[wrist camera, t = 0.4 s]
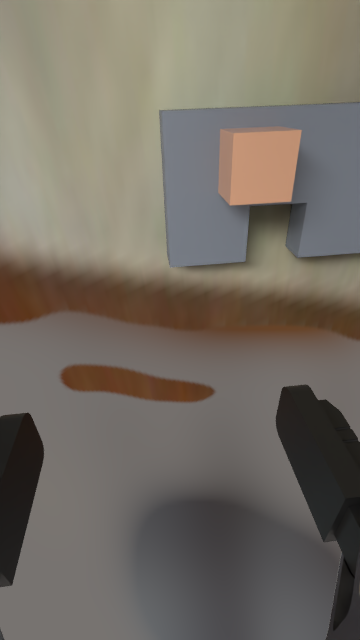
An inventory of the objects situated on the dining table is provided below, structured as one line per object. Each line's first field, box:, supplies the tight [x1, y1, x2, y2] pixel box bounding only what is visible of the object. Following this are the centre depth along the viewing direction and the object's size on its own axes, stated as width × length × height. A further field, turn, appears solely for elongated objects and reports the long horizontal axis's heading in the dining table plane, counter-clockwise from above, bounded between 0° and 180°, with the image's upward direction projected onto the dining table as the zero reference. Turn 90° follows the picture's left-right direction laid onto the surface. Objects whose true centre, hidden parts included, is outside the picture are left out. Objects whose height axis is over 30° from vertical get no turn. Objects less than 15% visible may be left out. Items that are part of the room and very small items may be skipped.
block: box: [218, 126, 302, 205], centre depth 24 cm, size 4×4×4 cm
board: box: [159, 102, 360, 267], centre depth 28 cm, size 12×32×5 cm, turn 92°
